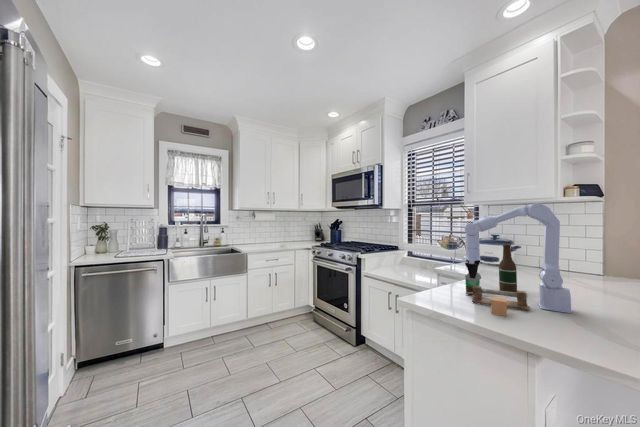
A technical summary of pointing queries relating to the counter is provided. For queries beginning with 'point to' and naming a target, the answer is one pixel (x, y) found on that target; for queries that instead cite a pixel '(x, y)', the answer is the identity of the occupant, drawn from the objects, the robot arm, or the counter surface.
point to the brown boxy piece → (520, 295)
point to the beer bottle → (507, 271)
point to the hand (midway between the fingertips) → (473, 276)
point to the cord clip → (498, 306)
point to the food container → (472, 283)
